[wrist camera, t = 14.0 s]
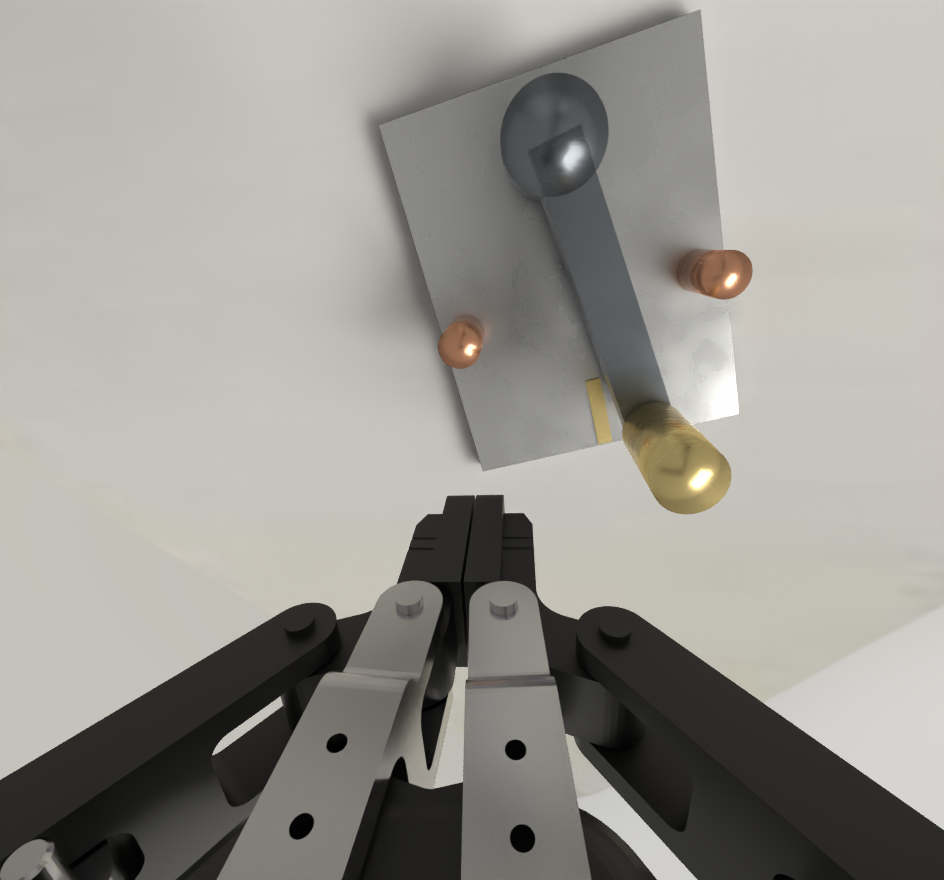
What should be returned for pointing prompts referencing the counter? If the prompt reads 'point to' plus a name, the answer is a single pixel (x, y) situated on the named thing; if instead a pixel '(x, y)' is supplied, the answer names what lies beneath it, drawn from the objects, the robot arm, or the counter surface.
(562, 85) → the crank lever
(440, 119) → the crank base
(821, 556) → the counter surface
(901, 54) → the counter surface
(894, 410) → the counter surface
